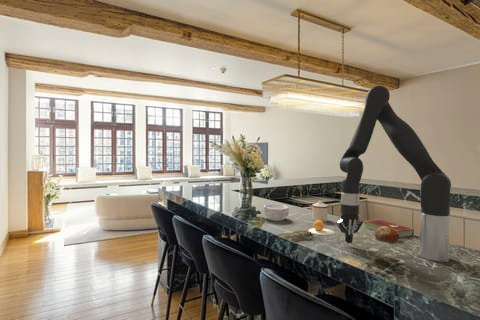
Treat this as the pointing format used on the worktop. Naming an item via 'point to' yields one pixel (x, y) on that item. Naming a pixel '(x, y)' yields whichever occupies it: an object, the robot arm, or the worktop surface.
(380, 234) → the bread roll
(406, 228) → the hardcover book
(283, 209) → the paper bowls
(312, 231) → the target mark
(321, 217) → the teacup with lid
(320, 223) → the ball
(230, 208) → the worktop surface
